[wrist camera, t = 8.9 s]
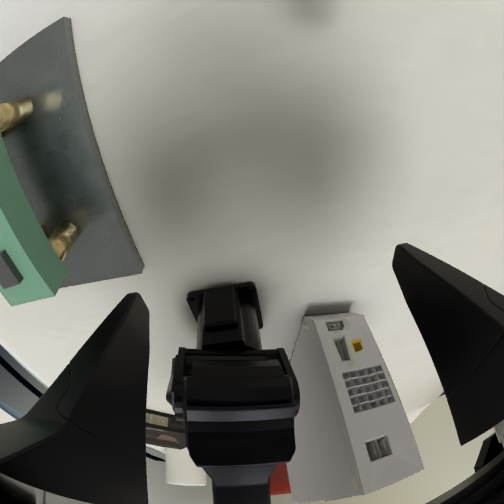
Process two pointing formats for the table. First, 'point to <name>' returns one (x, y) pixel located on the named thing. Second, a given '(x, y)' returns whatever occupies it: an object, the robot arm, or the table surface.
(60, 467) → the robot arm
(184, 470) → the cup
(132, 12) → the table surface
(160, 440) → the portable cd player
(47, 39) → the chassis plate
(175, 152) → the table surface
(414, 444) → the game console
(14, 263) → the circuit board
